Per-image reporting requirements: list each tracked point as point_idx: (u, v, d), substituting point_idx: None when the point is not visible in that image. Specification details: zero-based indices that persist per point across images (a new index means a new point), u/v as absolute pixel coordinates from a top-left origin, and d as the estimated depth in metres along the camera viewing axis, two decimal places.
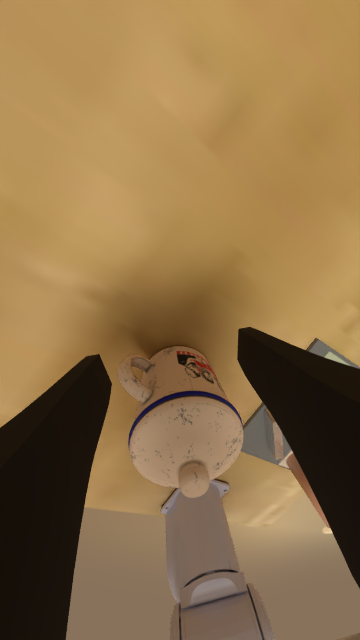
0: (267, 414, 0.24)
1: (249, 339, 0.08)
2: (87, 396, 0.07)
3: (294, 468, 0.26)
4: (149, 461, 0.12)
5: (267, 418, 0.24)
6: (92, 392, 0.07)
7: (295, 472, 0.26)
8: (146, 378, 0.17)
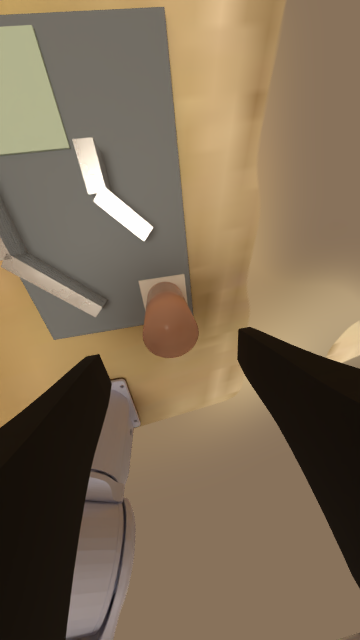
0: None
1: (249, 339, 0.08)
2: (87, 396, 0.07)
3: None
4: None
5: None
6: (92, 392, 0.07)
7: None
8: None
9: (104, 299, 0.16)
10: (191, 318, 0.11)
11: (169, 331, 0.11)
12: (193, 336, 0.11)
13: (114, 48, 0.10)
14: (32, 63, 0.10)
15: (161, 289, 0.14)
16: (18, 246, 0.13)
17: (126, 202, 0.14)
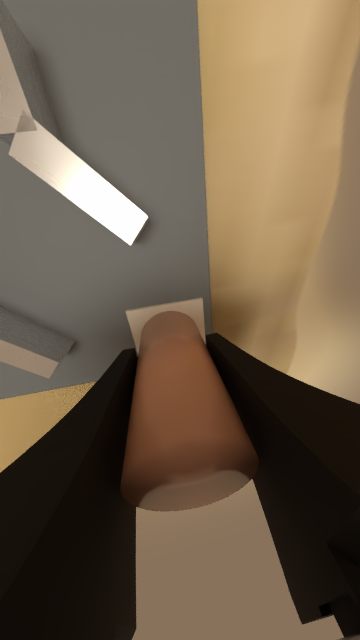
0: None
1: (212, 346, 0.08)
2: (131, 388, 0.07)
3: None
4: None
5: None
6: (133, 384, 0.07)
7: None
8: None
9: (68, 342, 0.10)
10: (247, 448, 0.04)
11: (187, 474, 0.04)
12: (245, 475, 0.05)
13: None
14: None
15: (165, 334, 0.08)
16: None
17: (96, 169, 0.07)
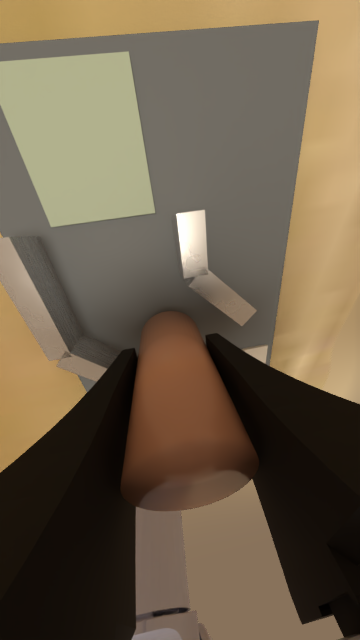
0: None
1: (212, 346, 0.08)
2: (131, 388, 0.07)
3: None
4: None
5: None
6: (133, 384, 0.07)
7: None
8: None
9: None
10: (247, 448, 0.04)
11: (188, 475, 0.04)
12: (245, 475, 0.05)
13: (237, 81, 0.07)
14: (120, 105, 0.07)
15: (165, 334, 0.08)
16: (75, 332, 0.10)
17: (214, 272, 0.10)
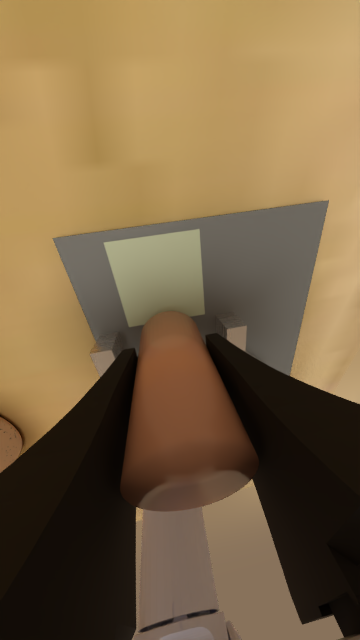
0: None
1: (211, 346, 0.08)
2: (131, 388, 0.07)
3: None
4: None
5: None
6: (133, 384, 0.07)
7: None
8: None
9: None
10: (247, 448, 0.04)
11: (188, 475, 0.04)
12: (244, 475, 0.05)
13: (270, 235, 0.10)
14: (188, 254, 0.10)
15: (165, 334, 0.08)
16: None
17: None
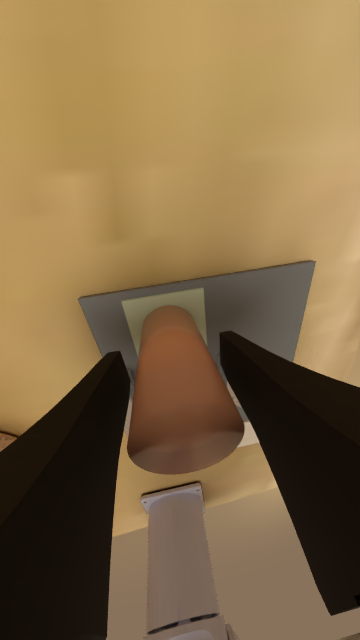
0: None
1: (227, 343, 0.08)
2: (113, 391, 0.07)
3: None
4: None
5: None
6: (116, 387, 0.07)
7: None
8: None
9: None
10: (233, 412, 0.05)
11: (184, 436, 0.05)
12: (233, 439, 0.05)
13: (265, 289, 0.11)
14: (194, 306, 0.11)
15: (165, 324, 0.08)
16: None
17: None
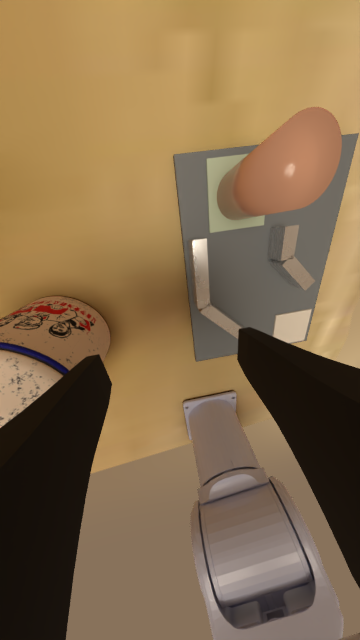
0: None
1: (249, 339, 0.08)
2: (87, 396, 0.07)
3: (224, 201, 0.13)
4: None
5: None
6: (92, 392, 0.07)
7: (227, 204, 0.13)
8: None
9: None
10: (338, 131, 0.08)
11: (303, 153, 0.08)
12: (330, 170, 0.08)
13: None
14: None
15: None
16: None
17: None
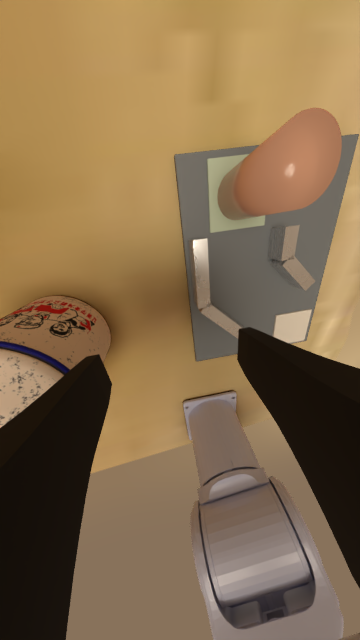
0: (198, 306, 0.18)
1: (249, 339, 0.08)
2: (87, 396, 0.07)
3: (224, 201, 0.13)
4: None
5: None
6: (92, 392, 0.07)
7: (227, 204, 0.13)
8: None
9: None
10: (338, 132, 0.08)
11: (303, 154, 0.08)
12: (330, 170, 0.08)
13: None
14: None
15: None
16: None
17: None
